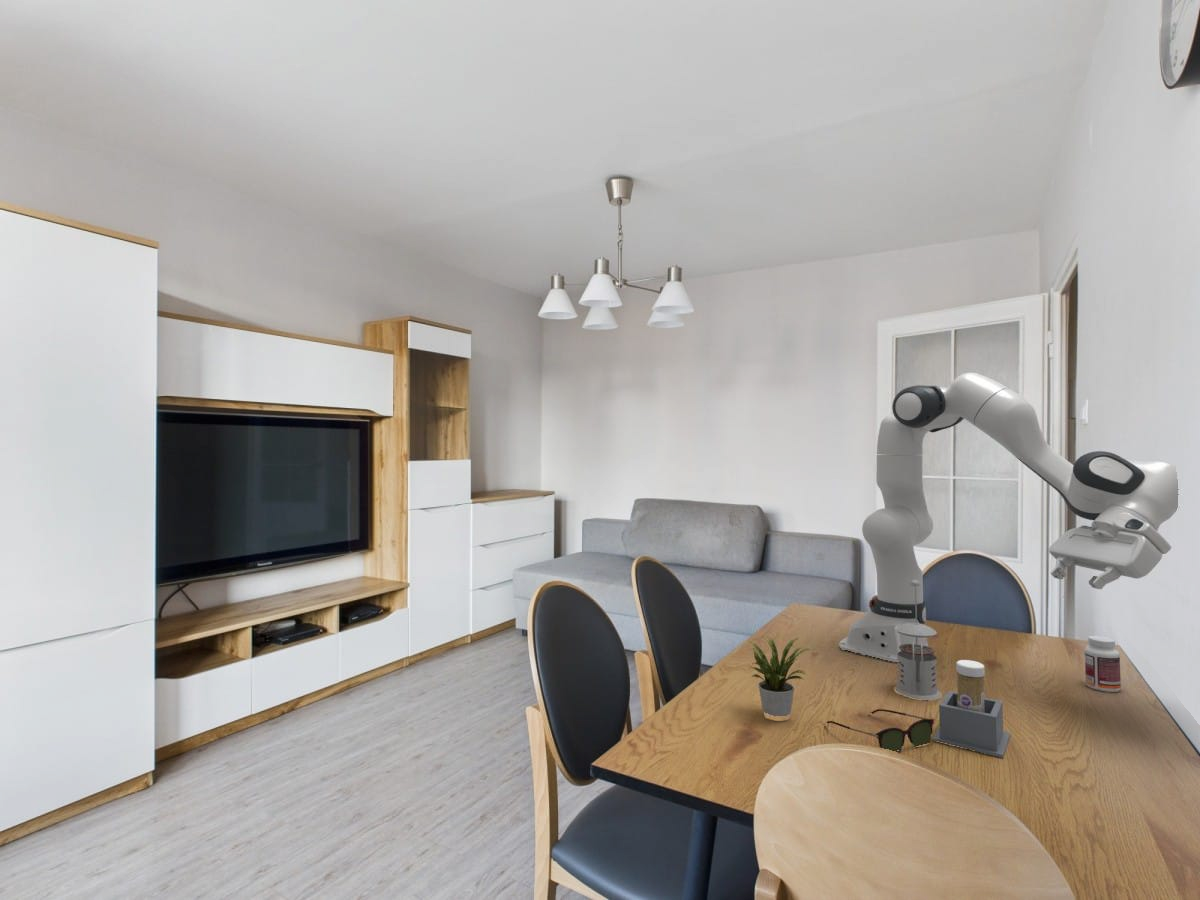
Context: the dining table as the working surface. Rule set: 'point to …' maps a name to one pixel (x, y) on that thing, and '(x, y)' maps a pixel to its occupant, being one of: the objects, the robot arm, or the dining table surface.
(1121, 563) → the robot arm
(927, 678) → the french press
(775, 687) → the house plant
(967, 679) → the sprinkles bottle
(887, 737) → the sunglasses
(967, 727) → the square holder
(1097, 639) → the pill bottle
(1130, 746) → the dining table surface
